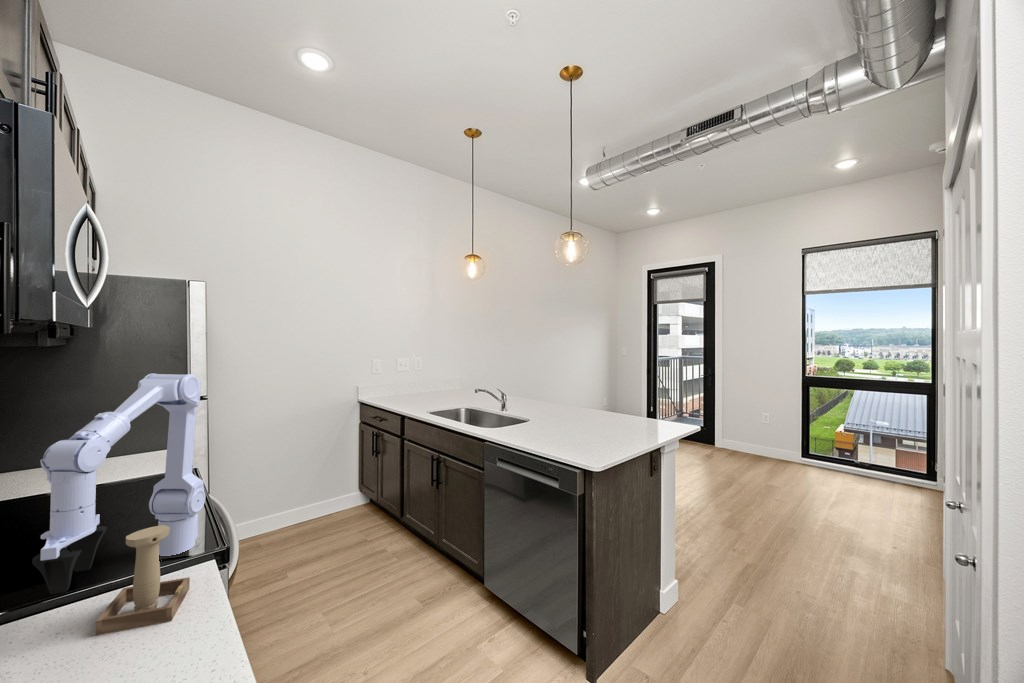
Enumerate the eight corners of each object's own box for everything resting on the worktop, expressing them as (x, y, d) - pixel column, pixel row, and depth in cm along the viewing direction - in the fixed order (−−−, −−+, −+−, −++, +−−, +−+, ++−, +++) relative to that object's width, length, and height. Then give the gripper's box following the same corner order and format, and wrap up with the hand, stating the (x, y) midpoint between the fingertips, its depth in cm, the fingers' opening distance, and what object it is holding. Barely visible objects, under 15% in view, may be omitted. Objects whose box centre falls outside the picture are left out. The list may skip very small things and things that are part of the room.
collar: (122, 600, 84) (123, 585, 84) (189, 589, 88) (189, 574, 88) (95, 635, 74) (95, 617, 74) (171, 620, 78) (172, 604, 78)
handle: (118, 616, 79) (120, 536, 79) (159, 598, 85) (161, 523, 85) (131, 624, 77) (133, 542, 77) (172, 605, 83) (174, 528, 83)
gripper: (66, 494, 82) (65, 564, 82) (15, 525, 68) (13, 609, 68) (113, 490, 85) (112, 558, 85) (73, 519, 71) (71, 599, 71)
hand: (71, 580), depth 77 cm, fingers open, 7 cm apart
